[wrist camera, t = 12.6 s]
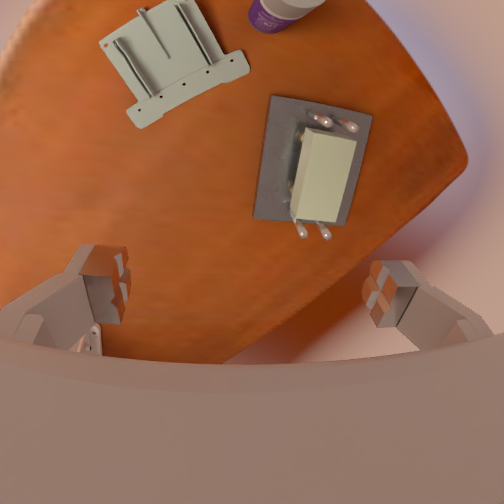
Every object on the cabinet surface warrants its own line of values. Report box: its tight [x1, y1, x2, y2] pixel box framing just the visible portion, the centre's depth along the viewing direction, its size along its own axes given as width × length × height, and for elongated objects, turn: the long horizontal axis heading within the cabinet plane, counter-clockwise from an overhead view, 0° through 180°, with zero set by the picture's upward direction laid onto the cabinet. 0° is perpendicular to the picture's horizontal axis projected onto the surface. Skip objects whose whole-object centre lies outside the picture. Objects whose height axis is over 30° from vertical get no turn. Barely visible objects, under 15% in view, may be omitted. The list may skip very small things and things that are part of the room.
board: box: [290, 127, 357, 222], centre depth 33 cm, size 10×5×3 cm, turn 172°
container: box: [248, 0, 326, 34], centre depth 21 cm, size 5×5×15 cm
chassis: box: [252, 95, 373, 240], centre depth 35 cm, size 16×13×8 cm
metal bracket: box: [99, 0, 250, 129], centre depth 28 cm, size 14×6×15 cm
